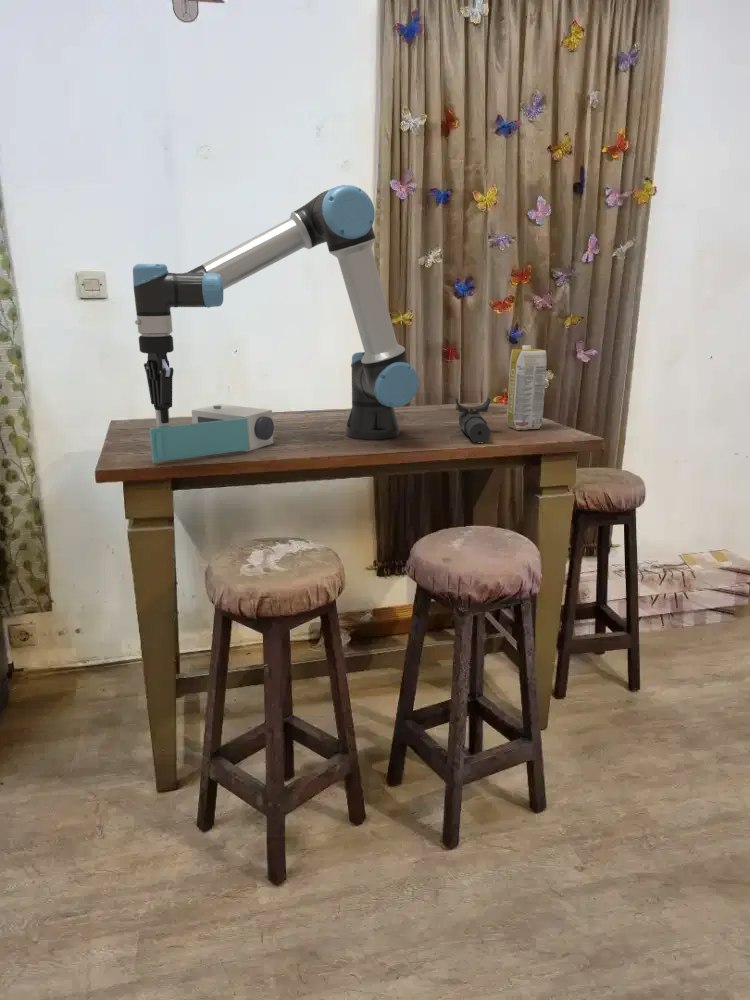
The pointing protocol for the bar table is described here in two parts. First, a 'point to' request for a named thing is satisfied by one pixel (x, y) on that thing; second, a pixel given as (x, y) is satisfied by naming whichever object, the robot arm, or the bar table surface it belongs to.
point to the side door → (199, 439)
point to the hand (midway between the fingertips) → (164, 435)
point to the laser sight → (474, 421)
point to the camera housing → (257, 418)
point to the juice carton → (526, 387)
